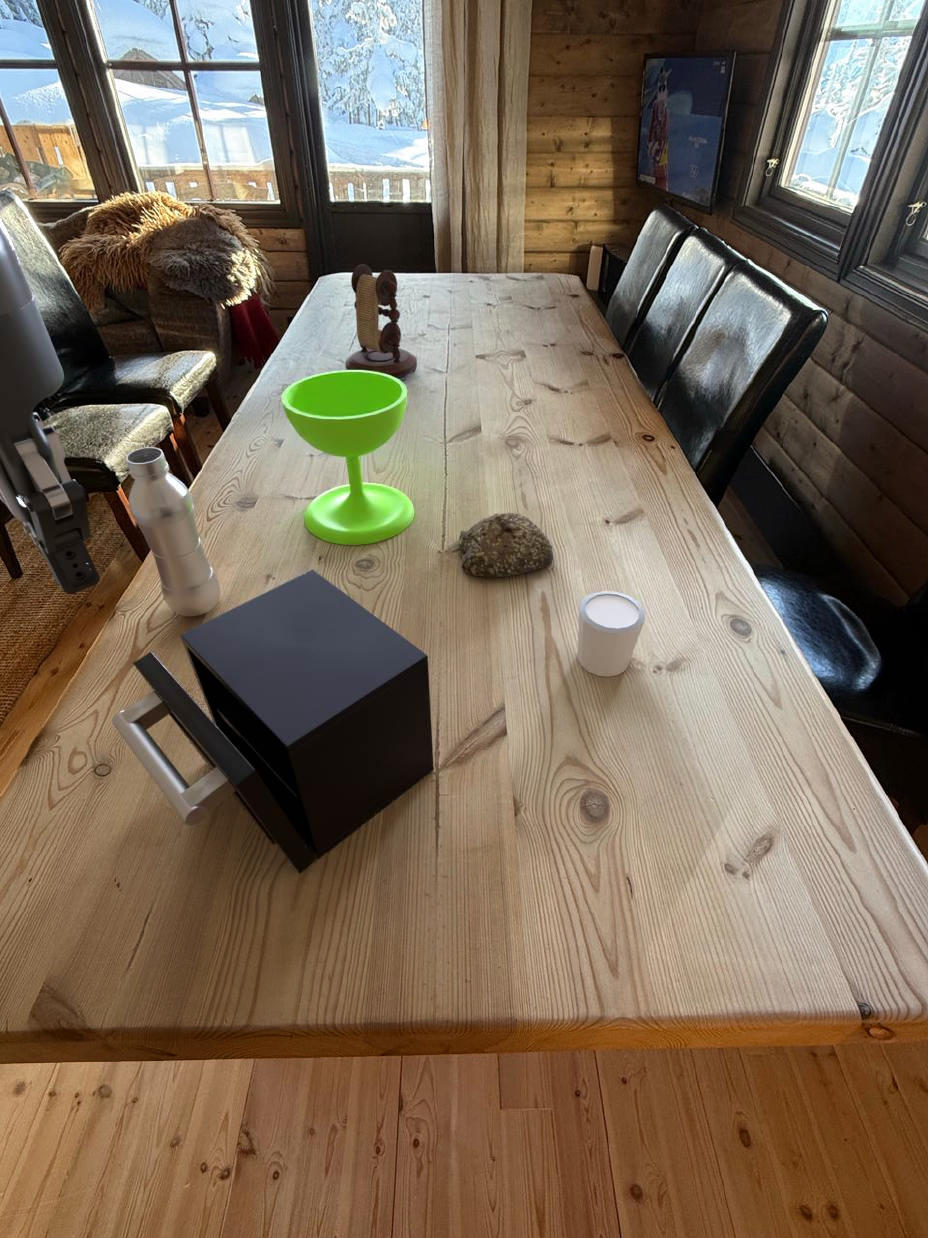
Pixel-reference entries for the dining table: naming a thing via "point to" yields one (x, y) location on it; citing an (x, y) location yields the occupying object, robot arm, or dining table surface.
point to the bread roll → (504, 546)
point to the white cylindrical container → (608, 632)
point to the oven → (317, 703)
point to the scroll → (374, 342)
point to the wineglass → (351, 451)
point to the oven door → (217, 752)
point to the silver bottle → (171, 533)
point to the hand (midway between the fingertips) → (80, 584)
